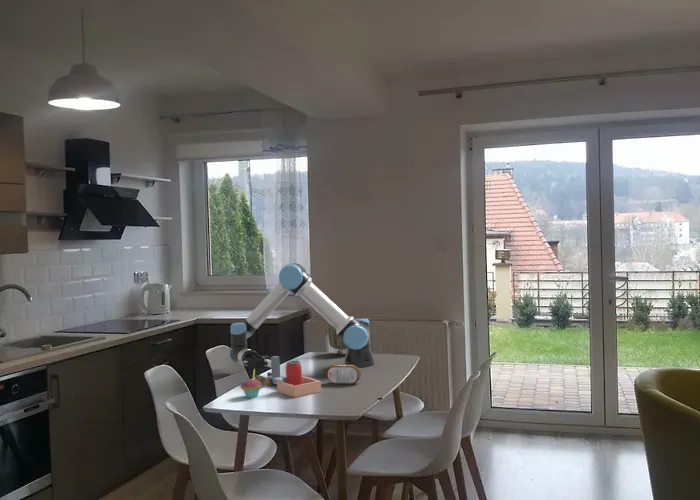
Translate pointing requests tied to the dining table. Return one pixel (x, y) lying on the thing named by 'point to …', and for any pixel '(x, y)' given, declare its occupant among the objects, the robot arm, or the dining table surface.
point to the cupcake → (251, 387)
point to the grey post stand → (276, 370)
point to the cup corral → (300, 387)
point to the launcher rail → (265, 379)
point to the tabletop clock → (336, 339)
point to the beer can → (294, 373)
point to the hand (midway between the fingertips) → (272, 364)
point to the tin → (343, 374)
